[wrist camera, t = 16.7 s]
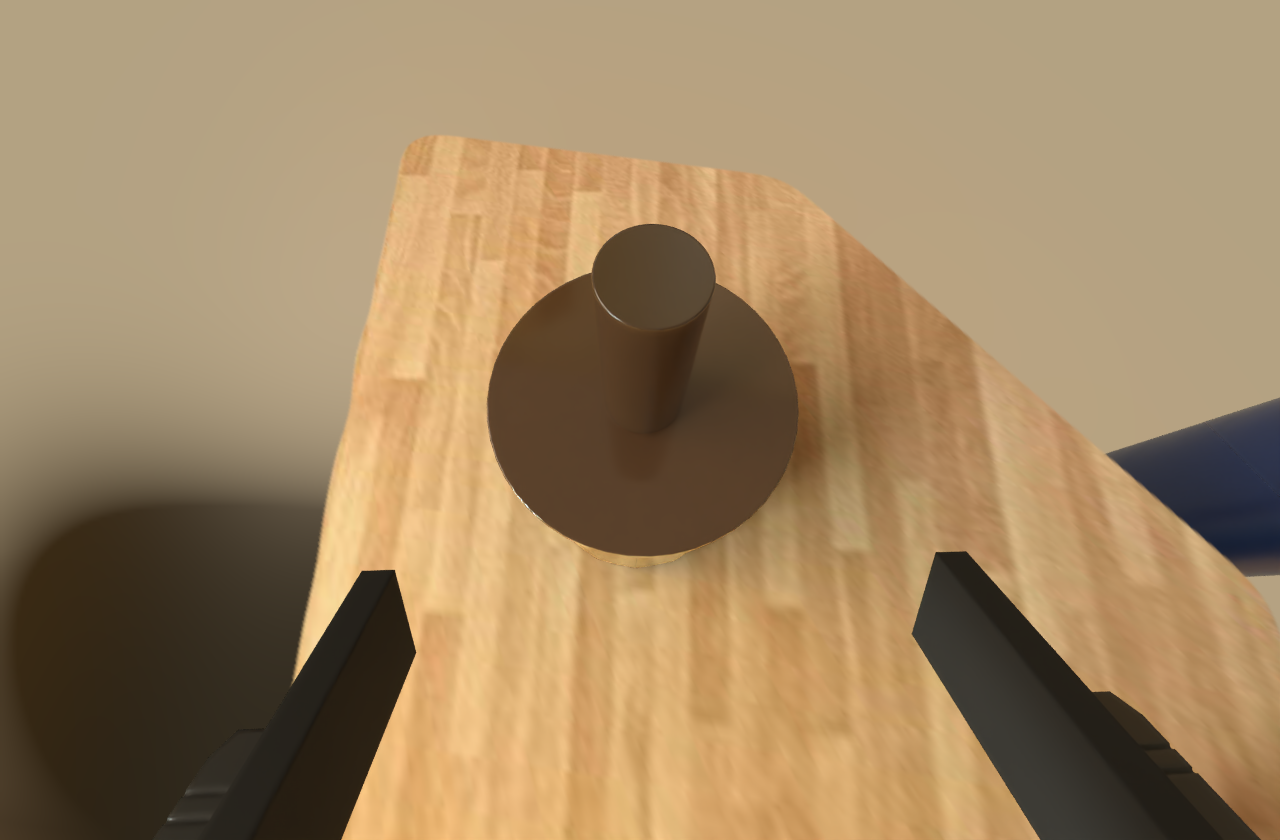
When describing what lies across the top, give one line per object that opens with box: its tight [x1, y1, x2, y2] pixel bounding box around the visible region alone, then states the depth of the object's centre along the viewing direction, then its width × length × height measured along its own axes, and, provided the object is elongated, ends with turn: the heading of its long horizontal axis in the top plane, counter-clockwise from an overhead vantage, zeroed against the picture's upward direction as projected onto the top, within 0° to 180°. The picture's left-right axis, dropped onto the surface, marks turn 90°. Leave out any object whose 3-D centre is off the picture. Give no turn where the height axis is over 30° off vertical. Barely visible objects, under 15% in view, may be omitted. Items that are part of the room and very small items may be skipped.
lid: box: [487, 224, 798, 558], centre depth 18 cm, size 13×13×10 cm
